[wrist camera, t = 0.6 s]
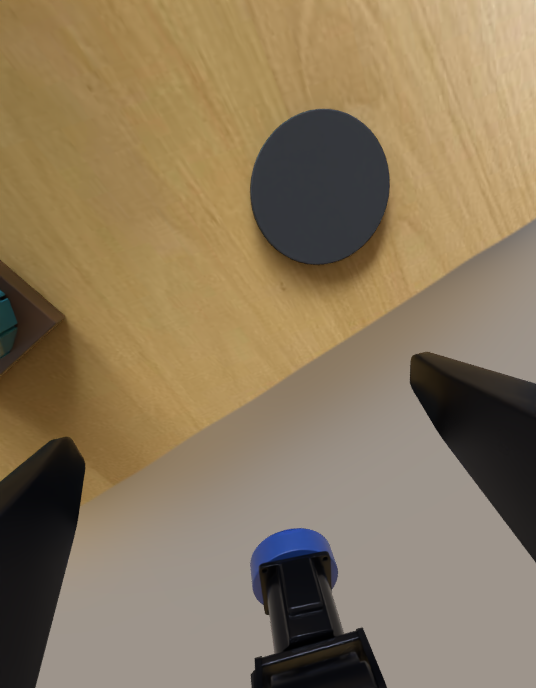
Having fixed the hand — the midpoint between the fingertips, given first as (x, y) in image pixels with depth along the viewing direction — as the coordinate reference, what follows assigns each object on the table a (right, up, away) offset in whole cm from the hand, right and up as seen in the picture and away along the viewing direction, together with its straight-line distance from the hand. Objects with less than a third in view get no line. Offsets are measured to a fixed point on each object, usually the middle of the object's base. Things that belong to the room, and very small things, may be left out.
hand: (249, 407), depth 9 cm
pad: (+4, +11, +13) cm, 18 cm away
